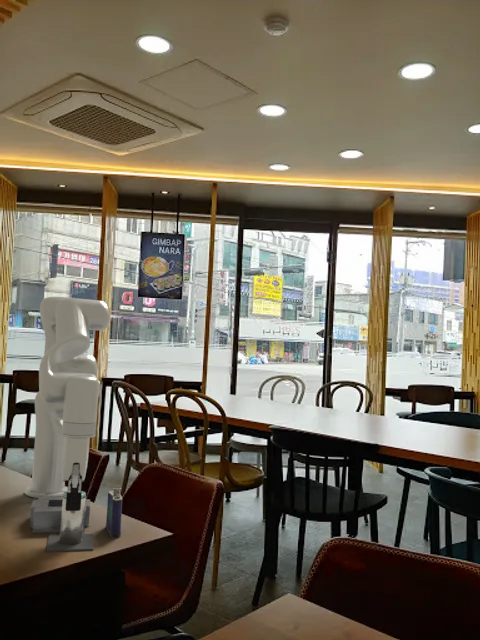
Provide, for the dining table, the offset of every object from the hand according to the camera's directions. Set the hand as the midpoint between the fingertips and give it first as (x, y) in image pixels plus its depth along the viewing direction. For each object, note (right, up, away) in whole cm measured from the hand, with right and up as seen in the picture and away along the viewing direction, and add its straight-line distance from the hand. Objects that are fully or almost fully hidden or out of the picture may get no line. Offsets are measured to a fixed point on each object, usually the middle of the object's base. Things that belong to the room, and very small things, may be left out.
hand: (73, 504), depth 128 cm
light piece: (-1, -8, 0) cm, 8 cm away
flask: (+7, -10, +9) cm, 15 cm away
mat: (0, -9, -1) cm, 9 cm away
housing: (-7, -9, +13) cm, 18 cm away
